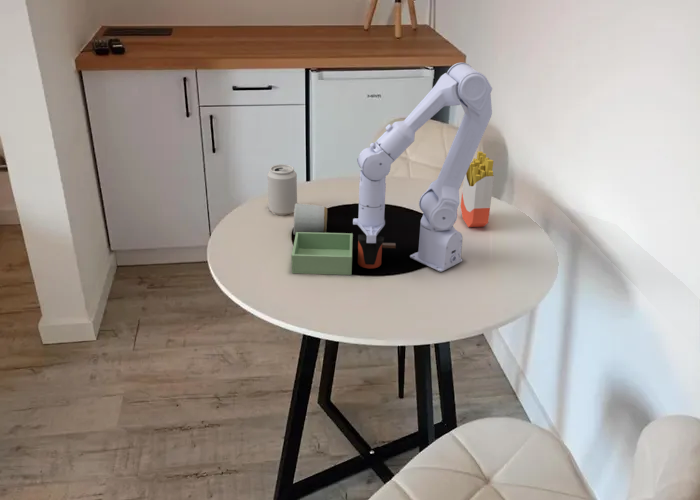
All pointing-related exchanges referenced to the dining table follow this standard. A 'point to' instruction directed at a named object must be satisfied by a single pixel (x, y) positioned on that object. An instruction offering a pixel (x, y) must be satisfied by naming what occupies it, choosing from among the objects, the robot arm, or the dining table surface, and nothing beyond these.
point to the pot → (378, 259)
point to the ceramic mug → (310, 218)
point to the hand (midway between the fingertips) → (369, 257)
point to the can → (282, 189)
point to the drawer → (322, 253)
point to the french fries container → (477, 191)
